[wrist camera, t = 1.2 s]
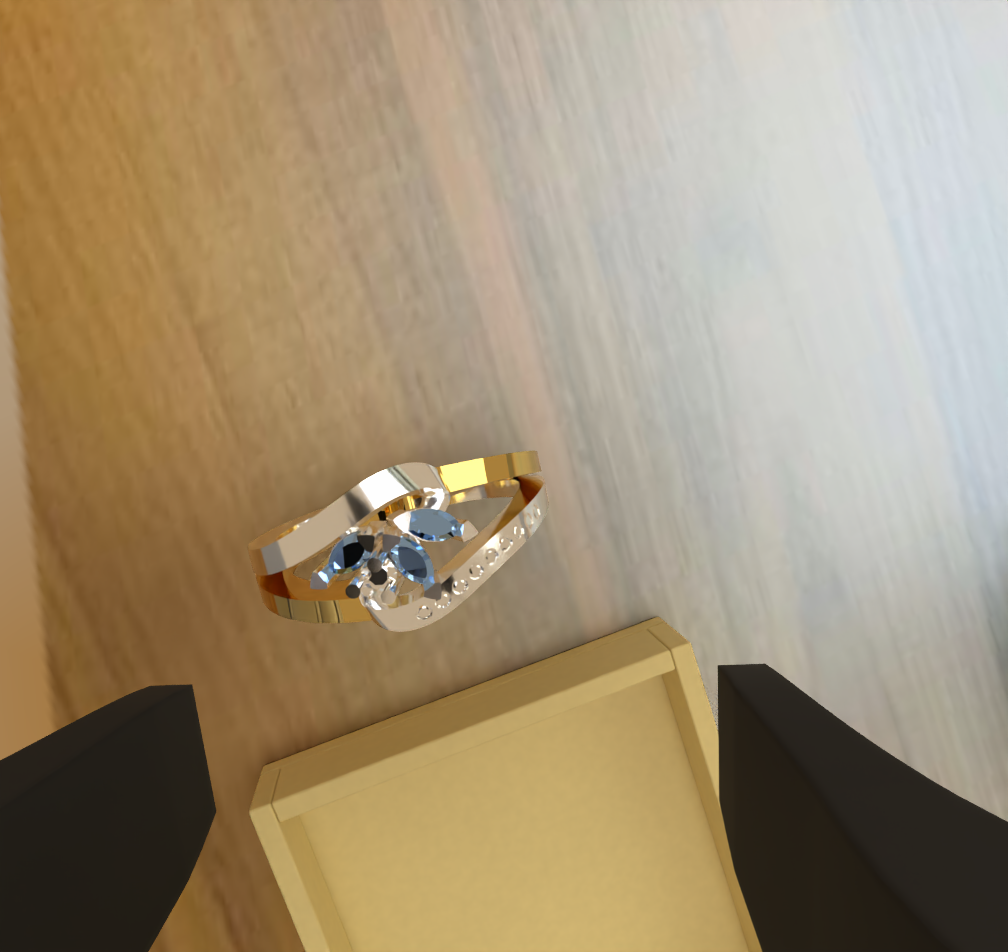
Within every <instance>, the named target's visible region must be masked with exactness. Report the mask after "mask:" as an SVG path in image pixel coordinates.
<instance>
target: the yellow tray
mask: <svg viewBox="0 0 1008 952" xmlns="http://www.w3.org/2000/svg"><path fill="white" fill-rule="evenodd" d="M249 815H250V818H251V820H252V822H253V825H254V827H255V830H256V832H257V835H258V837H259V839H260V842H261V844H262V847H263V849H264V852H265V854H266V857H267V859H268V861H269V864H270V866H271V869H272V871H273V874H274V876H275V879H276V881H277V883H278V886H279V888H280V891H281V893H282V896H283V898H284V901H285V903H286V905H287V908H288V910H289V913H290V915H291V918H292V920H293V923H294V925H295V927H296V930H297V932H298V935H299V937H300V940H301V942H302V944H303V947H304V949H305V952H762V949H761V946H760V944H759V941H758V938H757V935H756V932H755V929H754V926H753V924H752V921H751V918H750V915H749V912H748V909H747V906H746V903H745V900H744V898H743V895H742V892H741V889H740V886H739V883H738V880H737V877H736V874H735V871H734V867H733V862H732V858H731V853H730V849H729V844H728V840H727V835H726V831H725V826H724V821H723V816H722V812H721V807H720V802H719V738H718V730H717V727H716V724H715V720H714V717H713V714H712V711H711V708H710V704H709V701H708V698H707V695H706V691H705V688H704V685H703V682H702V678H701V675H700V672H699V669H698V665H697V662H696V659H695V656H694V652H693V649H692V646H691V643H690V642H689V641H688V640H687V639H685V638H684V637H683V636H682V635H680V634H679V633H678V632H677V631H676V630H674V629H673V628H672V627H671V626H669V625H668V624H667V623H666V622H664V621H663V620H662V619H661V618H660V617H655V618H653V619H650V620H647V621H645V622H642V623H640V624H637V625H634V626H632V627H629V628H626V629H624V630H621V631H618V632H616V633H613V634H611V635H608V636H605V637H603V638H600V639H597V640H595V641H592V642H589V643H587V644H584V645H582V646H579V647H576V648H574V649H571V650H568V651H566V652H563V653H560V654H558V655H555V656H553V657H550V658H547V659H545V660H542V661H539V662H537V663H534V664H531V665H529V666H526V667H524V668H521V669H518V670H516V671H513V672H510V673H508V674H505V675H502V676H500V677H497V678H495V679H492V680H489V681H487V682H484V683H481V684H479V685H476V686H473V687H471V688H468V689H466V690H463V691H460V692H458V693H455V694H452V695H450V696H447V697H444V698H442V699H439V700H436V701H434V702H431V703H429V704H426V705H423V706H421V707H418V708H415V709H413V710H410V711H407V712H405V713H402V714H400V715H397V716H394V717H392V718H389V719H386V720H384V721H381V722H378V723H376V724H373V725H371V726H368V727H365V728H363V729H360V730H357V731H355V732H352V733H349V734H347V735H344V736H342V737H339V738H336V739H334V740H331V741H328V742H326V743H323V744H320V745H318V746H315V747H313V748H310V749H307V750H305V751H302V752H299V753H297V754H294V755H291V756H289V757H286V758H284V759H281V760H278V761H276V762H273V763H270V764H268V765H265V766H264V767H263V768H262V771H261V775H260V777H259V781H258V784H257V787H256V790H255V793H254V797H253V800H252V803H251V806H250V809H249Z"/></svg>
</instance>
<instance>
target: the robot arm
mask: <svg viewBox="0 0 1008 952" xmlns="http://www.w3.org/2000/svg"><path fill="white" fill-rule="evenodd" d="M718 738H719V802H720V807H721V812H722V816H723V821H724V826H725V831H726V835H727V840H728V844H729V849H730V853H731V858H732V862H733V867H734V871H735V874H736V877H737V880H738V883H739V886H740V889H741V892H742V895H743V898H744V900H745V903H746V906H747V909H748V912H749V915H750V918H751V921H752V924H753V926H754V929H755V932H756V935H757V938H758V941H759V944H760V946H761V949H762V952H1008V822H1007V821H1005V820H1003V819H1001V818H999V817H997V816H995V815H994V814H992V813H990V812H988V811H986V810H984V809H982V808H980V807H978V806H976V805H975V804H973V803H971V802H969V801H967V800H965V799H963V798H961V797H959V796H958V795H956V794H954V793H952V792H951V791H949V790H947V789H946V788H944V787H942V786H940V785H939V784H937V783H935V782H934V781H932V780H930V779H929V778H927V777H925V776H924V775H922V774H921V773H919V772H917V771H916V770H914V769H913V768H911V767H910V766H908V765H906V764H905V763H903V762H902V761H900V760H898V759H897V758H895V757H894V756H892V755H890V754H889V753H888V752H886V751H885V750H883V749H882V748H880V747H879V746H877V745H876V744H874V743H873V742H871V741H870V740H868V739H867V738H865V737H864V736H863V735H861V734H860V733H858V732H857V731H855V730H854V729H853V728H851V727H850V726H848V725H847V724H846V723H844V722H843V721H841V720H840V719H839V718H837V717H836V716H835V715H833V714H832V713H831V712H829V711H828V710H827V709H825V708H824V707H823V706H821V705H820V704H819V703H817V702H816V701H815V700H813V699H812V698H811V697H809V696H808V695H807V694H805V693H804V692H803V691H801V690H800V689H799V688H798V687H796V686H795V685H794V684H792V683H791V682H790V681H788V680H787V679H786V678H784V677H783V676H782V675H780V674H779V673H778V672H776V671H775V670H774V669H772V668H771V667H769V666H768V665H766V664H746V665H718ZM215 814H216V807H215V802H214V797H213V791H212V786H211V781H210V776H209V770H208V765H207V760H206V755H205V750H204V744H203V739H202V734H201V729H200V723H199V718H198V713H197V708H196V702H195V697H194V692H193V687H192V685H165V686H149V687H146V688H144V689H141V690H138V691H136V692H133V693H131V694H129V695H126V696H124V697H122V698H120V699H118V700H116V701H114V702H112V703H110V704H108V705H106V706H104V707H102V708H100V709H98V710H96V711H94V712H92V713H90V714H88V715H86V716H84V717H82V718H80V719H78V720H76V721H75V722H73V723H71V724H69V725H67V726H65V727H63V728H61V729H59V730H57V731H56V732H54V733H52V734H50V735H48V736H46V737H44V738H42V739H41V740H39V741H37V742H35V743H33V744H31V745H29V746H27V747H25V748H23V749H22V750H20V751H18V752H16V753H14V754H12V755H10V756H8V757H6V758H4V759H2V760H0V952H148V951H149V949H150V948H151V946H152V944H153V943H154V941H155V939H156V937H157V936H158V934H159V932H160V930H161V929H162V927H163V925H164V923H165V921H166V920H167V918H168V916H169V914H170V913H171V911H172V909H173V907H174V906H175V904H176V902H177V900H178V899H179V897H180V895H181V893H182V891H183V889H184V888H185V886H186V884H187V882H188V880H189V878H190V876H191V873H192V871H193V869H194V866H195V864H196V862H197V859H198V857H199V855H200V852H201V850H202V848H203V845H204V842H205V840H206V837H207V835H208V832H209V829H210V827H211V824H212V822H213V819H214V816H215Z"/></svg>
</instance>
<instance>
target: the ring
mask: <svg viewBox="0 0 1008 952" xmlns="http://www.w3.org/2000/svg"><path fill="white" fill-rule="evenodd" d="M541 471H542V470H541V466H540V462H539V458H538V453H537V451H523V452H515V453H509V454H502V455H497V456H491V457H485V458H480V459H475V460H470V461H465V462H460V463H455V464H450V465H445V466H441V467H436V468H435V467H433V466H431V465H429V464H425V463H419V462H412V463H404V464H400V465H396V466H393V467H390V468H387V469H385V470H383V471H380V472H378V473H376V474H374V475H373V476H371V477H369V478H367V479H366V480H364V481H363V482H361V483H359V484H358V485H356V486H355V487H354V488H352V489H351V490H349V491H348V492H347V493H345V494H344V495H343V496H341V497H340V498H339V499H337V500H336V501H335V502H333V503H332V504H331V505H329V506H328V507H325V508H322V509H319V510H317V511H314V512H311V513H309V514H306V515H303V516H301V517H298V518H296V519H293V520H291V521H289V522H286V523H284V524H282V525H280V526H278V527H275V528H273V529H271V530H269V531H267V532H265V533H264V534H262V535H260V536H259V537H257V538H255V539H254V540H253V541H251V542H250V543H249V544H248V546H247V548H248V552H249V556H250V560H251V564H252V568H253V572H254V573H255V574H256V579H257V583H258V586H259V590H260V593H261V597H262V600H263V602H264V604H265V606H266V607H267V608H268V609H269V610H270V611H272V612H273V613H275V614H277V615H279V616H282V617H285V618H288V619H292V620H297V621H303V622H312V623H348V622H361V621H370V620H372V621H373V622H374V623H376V624H377V625H378V626H380V627H382V628H384V629H386V630H390V631H397V632H403V631H411V630H415V629H419V628H422V627H424V626H427V625H429V624H431V623H433V622H435V621H437V620H439V619H440V618H442V617H444V616H445V615H447V614H448V613H449V612H451V611H452V610H453V609H455V608H456V607H457V606H458V605H460V604H461V603H462V602H463V601H464V600H465V599H467V598H468V597H469V596H470V595H471V594H472V593H473V592H474V591H475V590H477V589H478V588H479V587H480V586H481V585H482V584H483V583H484V582H485V581H486V580H487V579H488V578H489V577H490V576H491V575H492V574H493V573H494V572H495V571H496V570H497V569H499V568H500V567H501V566H502V565H503V564H504V563H505V562H506V561H507V560H508V559H509V558H510V557H511V556H512V555H513V554H514V553H515V552H516V551H517V550H518V549H519V548H520V547H521V546H522V545H523V544H524V543H525V542H526V541H527V540H528V539H529V537H530V536H531V535H532V534H533V533H534V532H535V530H536V529H537V528H538V526H539V525H540V524H541V522H542V521H543V519H544V517H545V515H546V513H547V511H548V508H549V501H548V496H547V490H546V485H545V480H544V478H543V477H542V476H539V475H528V474H533V473H537V472H541ZM496 497H513V498H512V499H511V501H510V502H509V503H508V504H507V505H506V507H505V508H504V509H503V510H502V511H501V512H500V513H499V514H498V515H497V516H496V517H495V518H494V519H493V520H492V521H491V522H490V523H489V524H488V525H487V526H486V527H485V528H484V529H483V530H482V531H481V532H480V533H479V534H478V531H477V530H476V528H475V527H474V526H473V525H472V524H471V523H470V522H469V521H468V520H463V519H457V518H454V517H453V516H451V515H450V514H448V513H446V512H445V511H446V509H447V507H448V505H450V504H455V503H460V502H466V501H472V500H478V499H486V498H496ZM385 520H387V522H389V523H390V524H391V525H392V526H387V522H386V521H385ZM477 534H478V535H477ZM476 535H477V536H476ZM474 536H476V537H475V538H474V539H473V540H472V541H471V542H470V543H469V544H468V545H466V546H465V547H464V548H463V549H462V550H461V551H460V552H459V553H458V554H457V555H456V556H455V557H454V558H453V559H452V560H450V561H449V562H448V563H447V564H446V565H445V566H444V567H443V568H442V569H440V570H439V571H438V572H437V570H434V569H433V564H432V562H431V558H430V556H429V553H428V552H427V550H426V549H425V547H424V546H423V545H422V544H421V543H420V542H421V541H427V542H439V541H443V540H447V539H450V538H451V539H455V540H459V541H462V542H465V541H467V540H469V539H471V538H473V537H474ZM382 540H383V542H381V541H382ZM380 542H381V543H380ZM379 543H380V544H379ZM335 544H336V545H335ZM378 544H379V545H378ZM333 545H335V546H334V547H333V549H332V551H331V553H330V556H329V557H328V558H327V559H326V560H325V561H324V562H323V563H322V564H321V565H320V566H319V567H318V568H317V569H316V570H315V571H313V573H312V577H311V581H309V580H305V579H301V578H299V577H296V576H295V575H293V573H294V571H295V569H296V568H297V567H298V565H299V564H302V563H304V562H306V561H308V560H310V559H312V558H314V557H316V556H318V555H319V554H321V553H323V552H324V551H326V550H327V549H329V548H330V547H332V546H333ZM377 546H378V547H377ZM361 566H362V567H361ZM359 567H361V568H360V569H359V570H358V571H357V573H356V574H355V576H354V577H353V579H350V580H343V581H335V580H336V579H337V578H338V576H339V575H340V574H344V573H349V572H352V571H354V570H356V569H358V568H359ZM404 576H405V577H406V578H408V579H409V580H411V581H414V582H417V583H420V584H421V585H420V586H419V587H417V588H415V589H414V590H412V591H410V592H407V593H405V594H402V595H398V593H399V591H400V589H401V587H402V585H403V583H404V580H405V578H404Z"/></svg>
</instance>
